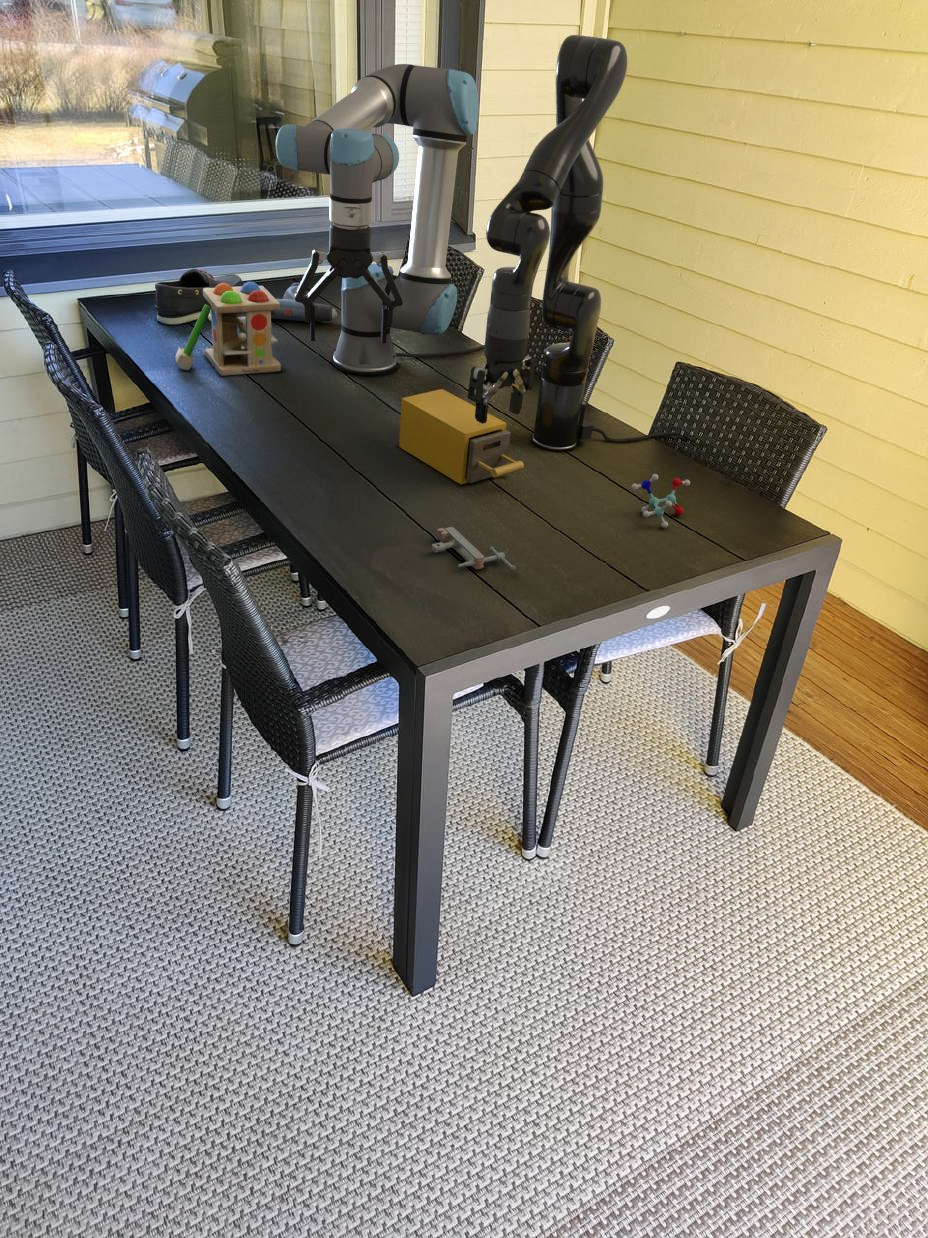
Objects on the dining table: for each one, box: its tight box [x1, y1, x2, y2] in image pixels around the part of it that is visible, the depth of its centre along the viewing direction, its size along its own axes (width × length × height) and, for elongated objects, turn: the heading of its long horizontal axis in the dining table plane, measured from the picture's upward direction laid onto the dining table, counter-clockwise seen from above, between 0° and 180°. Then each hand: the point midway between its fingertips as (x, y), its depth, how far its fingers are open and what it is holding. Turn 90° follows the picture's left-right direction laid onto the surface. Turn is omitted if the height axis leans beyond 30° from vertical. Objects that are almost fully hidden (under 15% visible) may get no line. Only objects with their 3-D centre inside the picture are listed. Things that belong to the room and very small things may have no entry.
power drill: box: [271, 282, 338, 322], centre depth 265 cm, size 5×19×20 cm
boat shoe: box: [154, 268, 245, 325], centre depth 260 cm, size 13×33×10 cm, turn 147°
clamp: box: [431, 526, 517, 572], centre depth 165 cm, size 15×2×10 cm
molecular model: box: [631, 473, 691, 529], centre depth 183 cm, size 12×10×10 cm
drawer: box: [466, 429, 525, 484], centre depth 192 cm, size 24×9×8 cm, turn 40°
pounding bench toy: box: [174, 281, 282, 377], centre depth 225 cm, size 23×14×18 cm, turn 116°
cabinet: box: [398, 388, 507, 485], centre depth 195 cm, size 20×10×10 cm, turn 40°
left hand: (348, 340), depth 190 cm, fingers open, 13 cm apart
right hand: (498, 417), depth 181 cm, fingers open, 8 cm apart
